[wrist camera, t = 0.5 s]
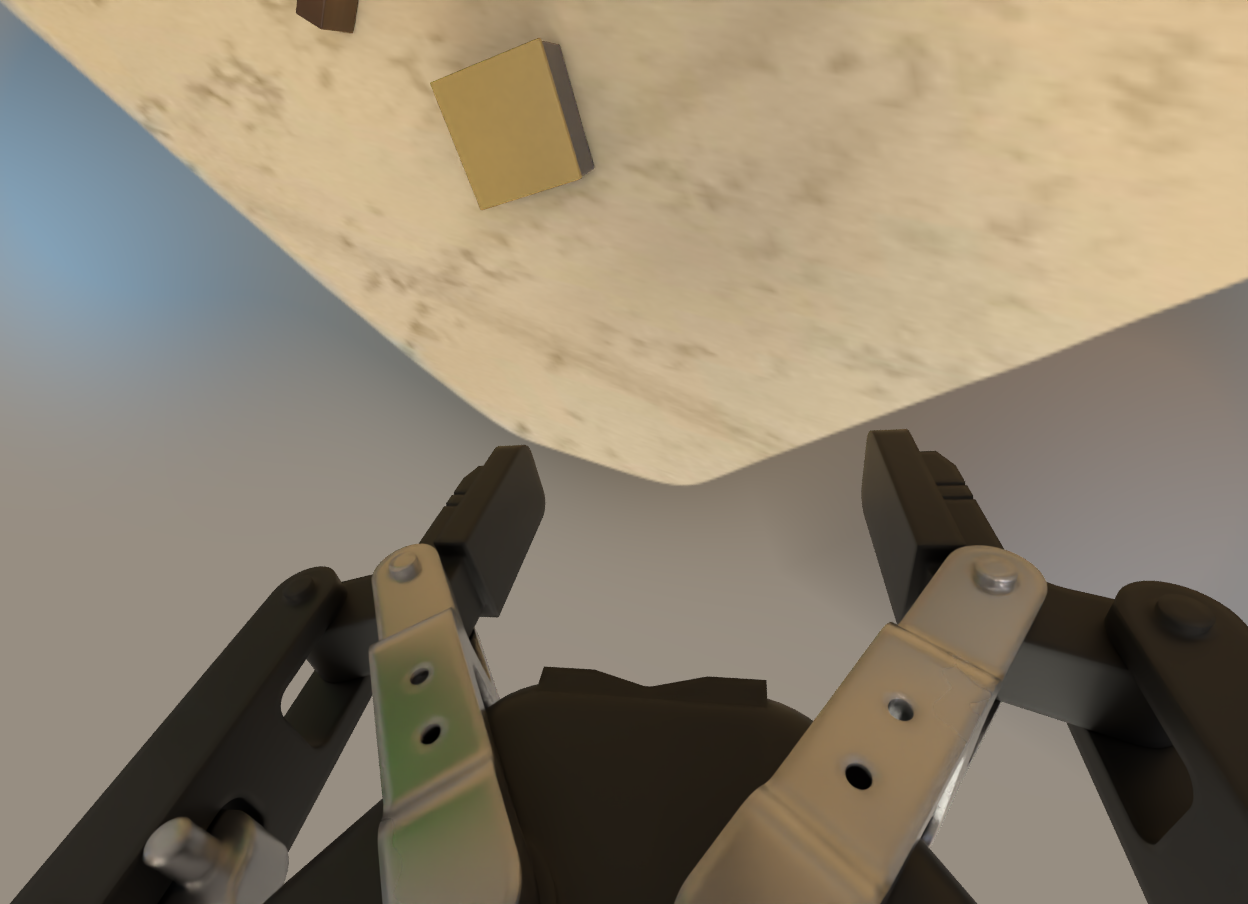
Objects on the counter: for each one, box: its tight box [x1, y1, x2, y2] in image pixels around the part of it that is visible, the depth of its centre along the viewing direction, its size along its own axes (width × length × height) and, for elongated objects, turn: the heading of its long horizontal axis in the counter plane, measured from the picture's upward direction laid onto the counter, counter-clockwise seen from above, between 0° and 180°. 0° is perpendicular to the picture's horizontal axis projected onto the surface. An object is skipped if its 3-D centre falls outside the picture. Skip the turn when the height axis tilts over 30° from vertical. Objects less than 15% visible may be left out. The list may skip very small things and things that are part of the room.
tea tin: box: [430, 38, 594, 210], centre depth 31 cm, size 7×7×4 cm
